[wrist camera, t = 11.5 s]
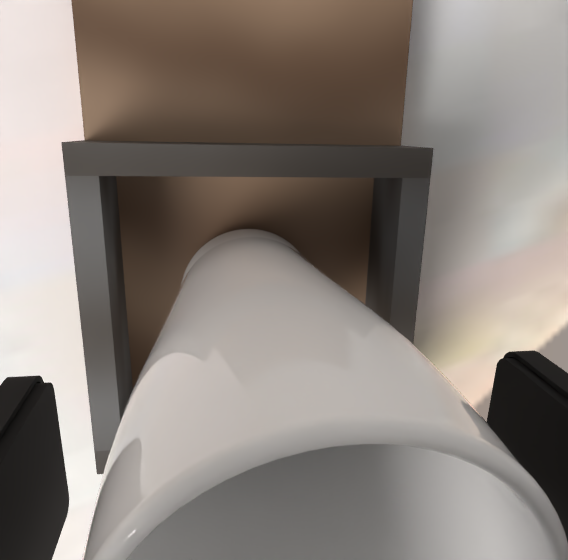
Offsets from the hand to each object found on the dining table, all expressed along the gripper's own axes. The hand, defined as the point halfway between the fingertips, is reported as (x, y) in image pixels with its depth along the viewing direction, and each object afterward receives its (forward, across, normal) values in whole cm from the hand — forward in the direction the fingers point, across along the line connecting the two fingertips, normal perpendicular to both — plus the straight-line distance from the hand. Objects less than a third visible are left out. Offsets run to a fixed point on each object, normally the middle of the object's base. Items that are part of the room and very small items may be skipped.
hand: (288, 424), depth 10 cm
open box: (+12, 0, -2) cm, 12 cm away
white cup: (+11, 0, +1) cm, 11 cm away
